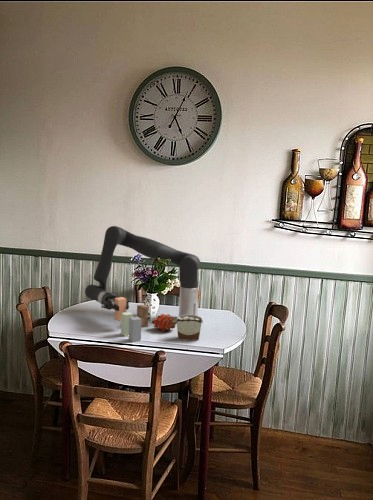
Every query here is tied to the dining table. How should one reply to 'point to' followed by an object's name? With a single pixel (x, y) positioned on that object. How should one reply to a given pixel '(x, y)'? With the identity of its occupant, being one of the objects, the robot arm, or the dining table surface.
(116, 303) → the terracotta block
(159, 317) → the dragon fruit
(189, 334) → the food container
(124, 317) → the sage block
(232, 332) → the dining table surface
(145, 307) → the walnut block
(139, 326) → the slate block
